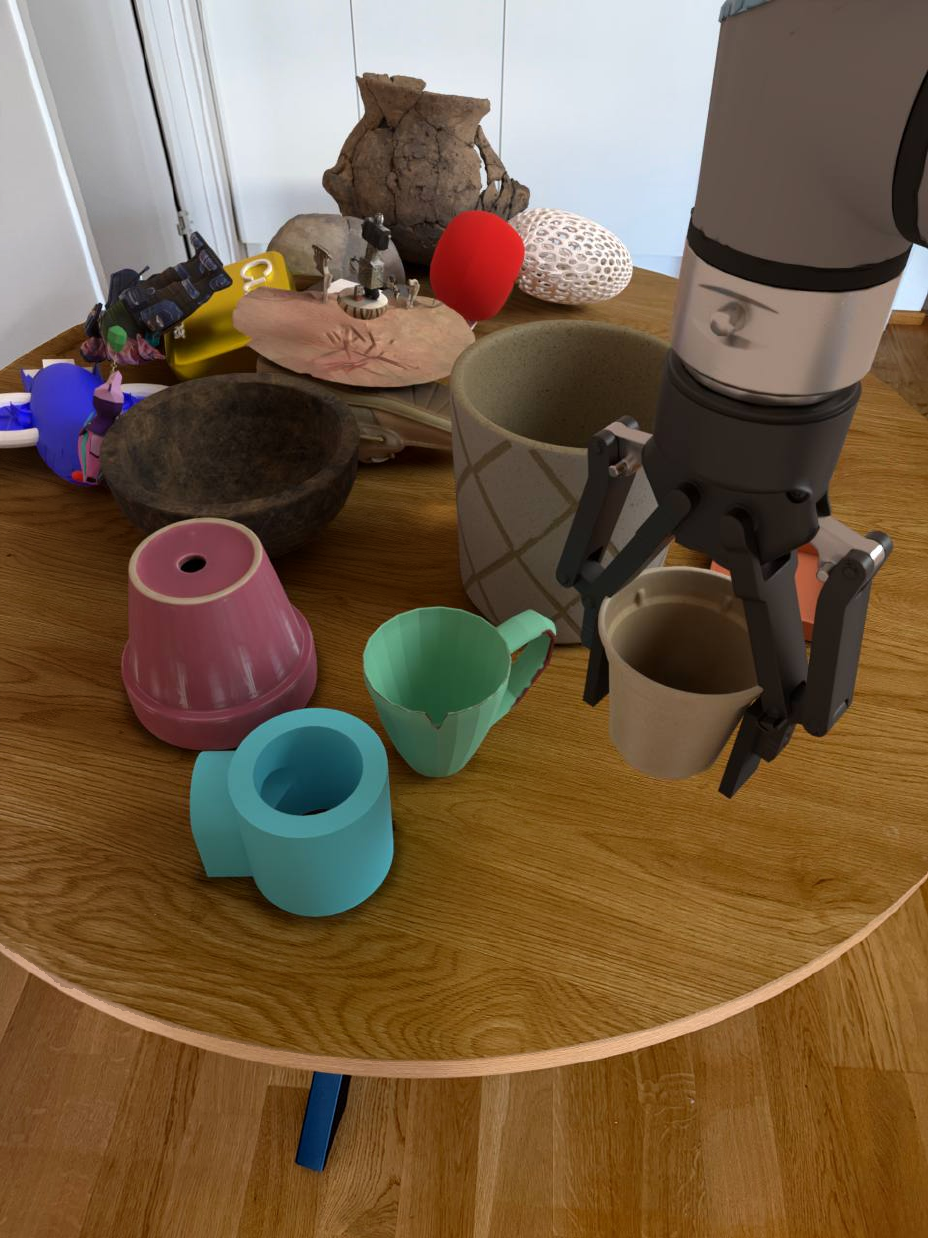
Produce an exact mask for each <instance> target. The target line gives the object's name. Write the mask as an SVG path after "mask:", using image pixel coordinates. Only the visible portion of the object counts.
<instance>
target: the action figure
mask: <svg viewBox="0 0 928 1238" xmlns="http://www.w3.org/2000/svg"><path fill="white" fill-rule="evenodd" d="M189 242H190V245H191V246H192V247H193V249H194V255H193V256H192V257H191V258H189V259H188V260H186V261H183V262H179V263H177V264H176V265H174V266H168V267H167V268H165V269H164V270H163V271H162V272H157V273H153V274H151V275H150V276H149V277H147V278H146V279H142V280H140V276H142V275H143V274H145V273H146V272H148V271H149V270H150V269H151V268H150V266H149V265H146V266H145V267H144V268H143V269H142V270H141V271H139V273H138V272H137V270H135V269H132V268H123V269H119V270H118V271H116V272H112V273H111V274H110V276H109V279H110V281H109V287H108V294H107V301H106V303H105V304H104V303H102V302H100V301H99V302H98V303H95V304H94V306H93V307H92V308H91V310H90V311H89V313H88V314H87V316H86V320H85V324H84V327H83V332H84V334H85V335H86V336H87V337H88V338H89V339H88V340H86V341H83V342H82V344H81V346H80V348H79V349H78V353H79V356H80V357H81V358H82V359H83V361H84V362H85V363H87V364H93V363H94V364H95V363H97V364H101V363H103V362H105V361H107V362H108V363H110V362H111V361H113V362H114V360H117V358H118V360H117V361H115V364H119V365H122V366H128V365H129V364H130V365H133V366H136V365H137V366H139V365H147V364H149V363H150V362H151V361H155V360H156V359H159V360H166V355H164V354H161V352H160V351H159V350H158V349H156V347H154V348H153V347H151V346H150V345H149V342H148V343H147V341H145V337H146V333H148V334H149V335H150V336H152V335H154V334H155V333H156V332H158V331H160V333H158V334H157V335H155V336H154V339H156V338H158V337H160V338H161V336H164V334H166V333H168V332H170V331H171V330H172V329H173V328H175V327H176V326H177V325H179V324H180V323H181V322H183V321H184V320H185V319H186V318H188V317H189V316H190V315H192V314H193V313H194V312H195V311H196V310H197V309H198V308H199V307H200V306H202V305H203V304H205V303H206V302H208V300H209V299H210V298H211V297H212V295H213V294H214V292H218V291H221V290H224V289H226V288H229V287H230V286H231V285H232V284H233V280H232V278H231V277H230V276H229V274H228V273H227V272H226V271H225V270H224V268H223V266H224V263H223V262H222V260H221V259H220V258H219V256H218V255H217V253H216V252H215V251H214V250H213V248H212V247H211V246H210V245H209V244H208V243H207V241H206V240H205V238H204V237H203V236H202V235H201V234H200V232H199V231H198V230H195V231H193V232H192V233H190V235H189ZM103 305H104V310H103ZM105 309H106V311H105ZM114 326H119V327H121V328H122V329H123V330H124V331H125V332H126V333H127V335H128V340H127V342H126V345H125V346H124V348H123V349H122V350H121V351H120V352H117V353H118V355H116V351H114V350H112V349H111V348H110V344H109V341H108V332H109V328H111V327H114ZM115 355H116V357H117V358H115ZM113 357H114V358H113ZM112 358H113V359H114V360H113V359H112Z"/></svg>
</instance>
